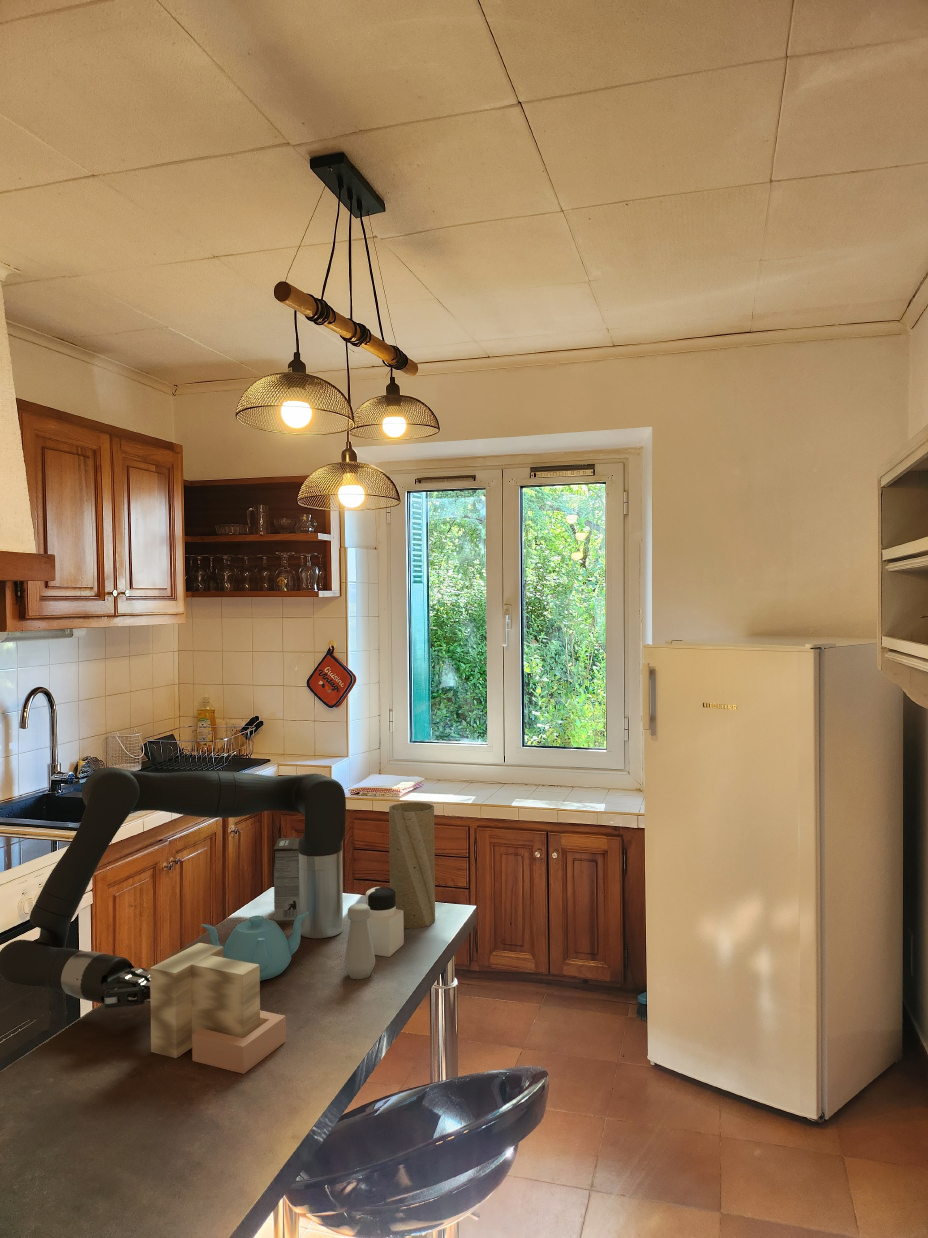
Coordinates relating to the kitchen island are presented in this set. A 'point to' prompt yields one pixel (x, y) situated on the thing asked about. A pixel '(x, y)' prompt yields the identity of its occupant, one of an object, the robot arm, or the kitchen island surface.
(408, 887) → the tube
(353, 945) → the salt shaker
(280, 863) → the coffee box
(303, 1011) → the kitchen island surface
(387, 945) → the medicine bottle
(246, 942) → the teapot
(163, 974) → the t block
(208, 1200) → the kitchen island surface
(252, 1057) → the frame
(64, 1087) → the kitchen island surface
